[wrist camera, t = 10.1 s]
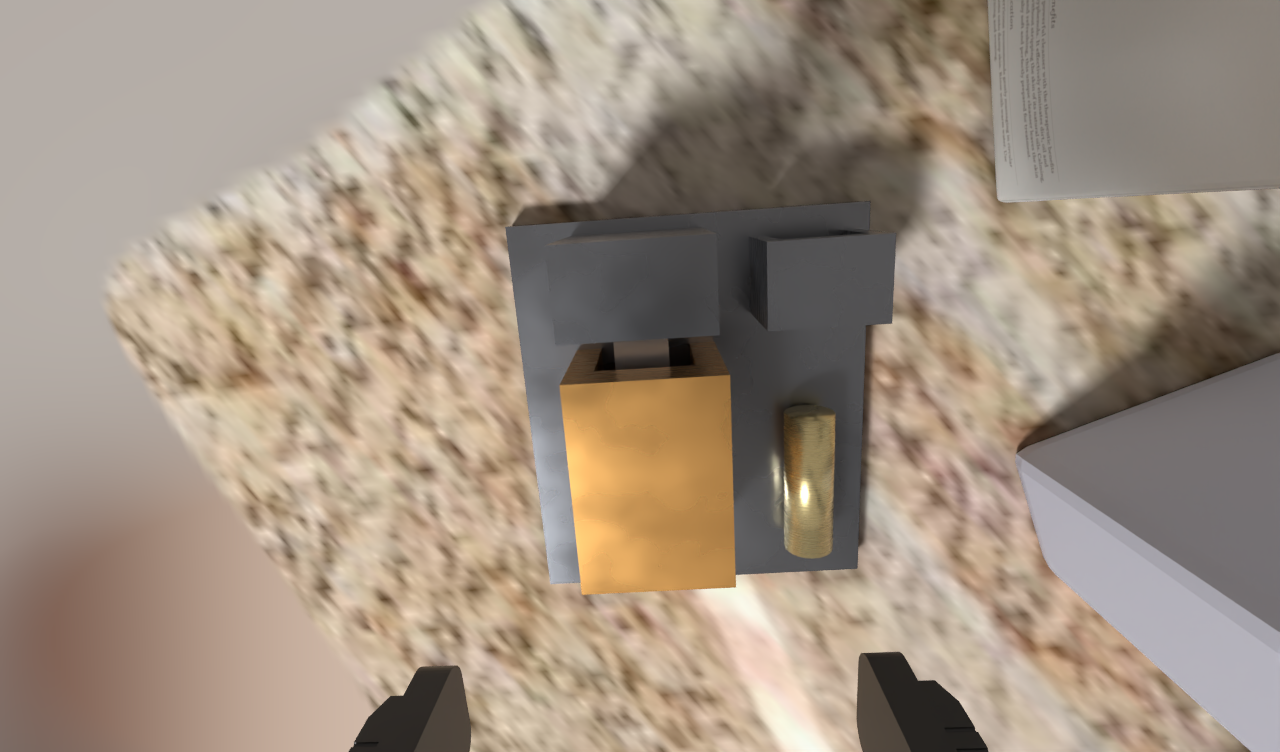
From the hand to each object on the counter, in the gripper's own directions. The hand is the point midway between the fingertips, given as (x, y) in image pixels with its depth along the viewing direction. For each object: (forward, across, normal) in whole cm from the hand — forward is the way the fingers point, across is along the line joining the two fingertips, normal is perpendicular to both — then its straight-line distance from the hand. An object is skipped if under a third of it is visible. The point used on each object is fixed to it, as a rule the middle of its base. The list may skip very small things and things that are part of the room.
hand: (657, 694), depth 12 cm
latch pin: (+14, -6, +2) cm, 15 cm away
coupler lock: (+14, 0, 0) cm, 14 cm away
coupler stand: (+15, -2, -1) cm, 15 cm away
